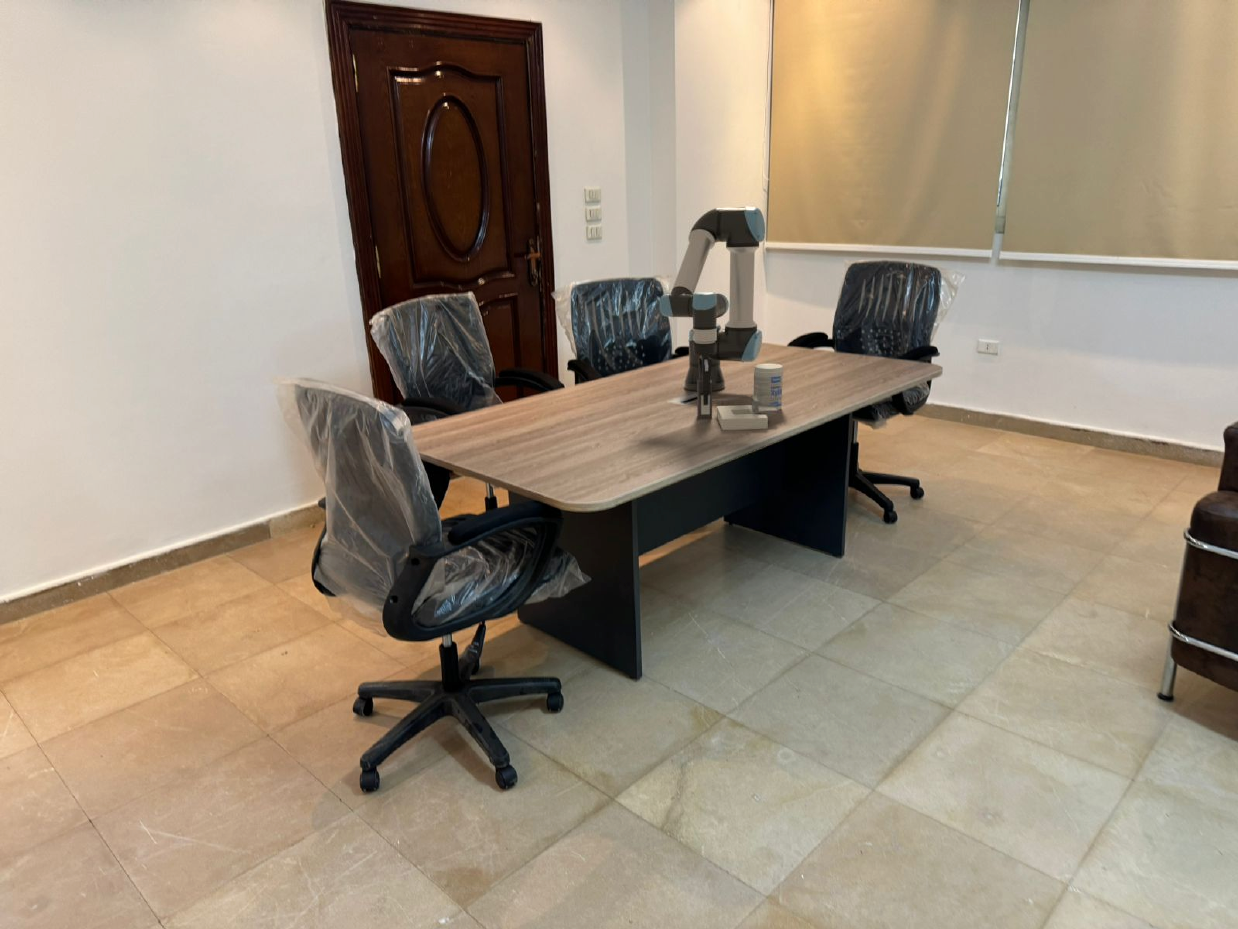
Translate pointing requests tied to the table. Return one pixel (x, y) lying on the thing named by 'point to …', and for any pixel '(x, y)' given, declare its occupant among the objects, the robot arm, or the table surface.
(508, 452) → the table surface
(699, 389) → the plug
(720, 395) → the table surface
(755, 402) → the plate
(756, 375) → the supplement tub
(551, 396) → the table surface
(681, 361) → the table surface
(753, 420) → the socket plate
